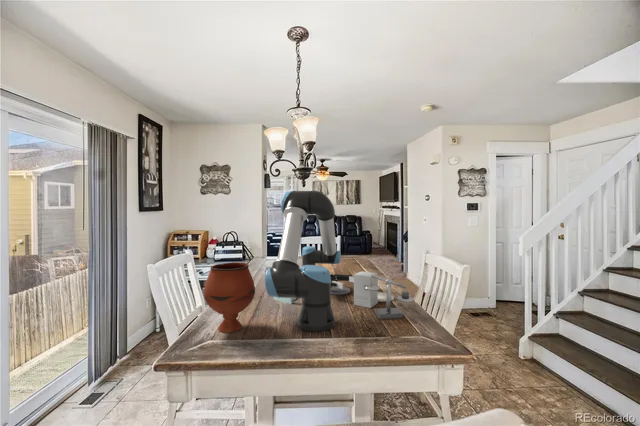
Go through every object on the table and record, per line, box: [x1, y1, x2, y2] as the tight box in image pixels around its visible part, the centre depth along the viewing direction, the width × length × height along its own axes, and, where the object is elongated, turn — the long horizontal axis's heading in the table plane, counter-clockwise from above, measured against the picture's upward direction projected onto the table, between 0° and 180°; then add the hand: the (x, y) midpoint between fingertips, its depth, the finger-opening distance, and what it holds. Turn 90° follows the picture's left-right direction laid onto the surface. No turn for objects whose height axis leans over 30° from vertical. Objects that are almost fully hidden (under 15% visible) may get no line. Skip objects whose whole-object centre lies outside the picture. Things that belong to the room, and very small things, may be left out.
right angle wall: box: [273, 297, 297, 305], centre depth 158 cm, size 12×12×8 cm
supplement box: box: [353, 270, 379, 309], centre depth 148 cm, size 9×9×15 cm
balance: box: [363, 274, 415, 320], centre depth 133 cm, size 22×7×18 cm, turn 96°
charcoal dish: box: [331, 286, 351, 296], centre depth 169 cm, size 13×13×1 cm
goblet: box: [203, 262, 256, 334], centre depth 120 cm, size 19×19×25 cm
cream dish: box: [378, 291, 395, 303], centre depth 157 cm, size 13×13×1 cm
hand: (351, 283), depth 155 cm, fingers open, 13 cm apart
